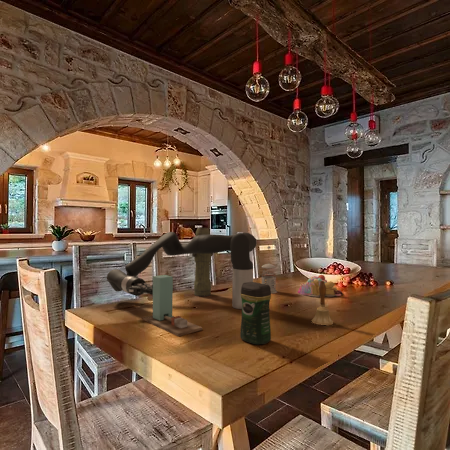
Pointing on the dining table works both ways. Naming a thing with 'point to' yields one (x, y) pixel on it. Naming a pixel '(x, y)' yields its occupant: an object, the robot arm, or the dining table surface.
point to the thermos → (202, 269)
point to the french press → (269, 277)
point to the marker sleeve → (162, 296)
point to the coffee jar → (255, 313)
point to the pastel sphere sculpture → (313, 287)
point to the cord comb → (174, 325)
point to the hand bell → (322, 308)
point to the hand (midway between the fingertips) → (154, 292)
